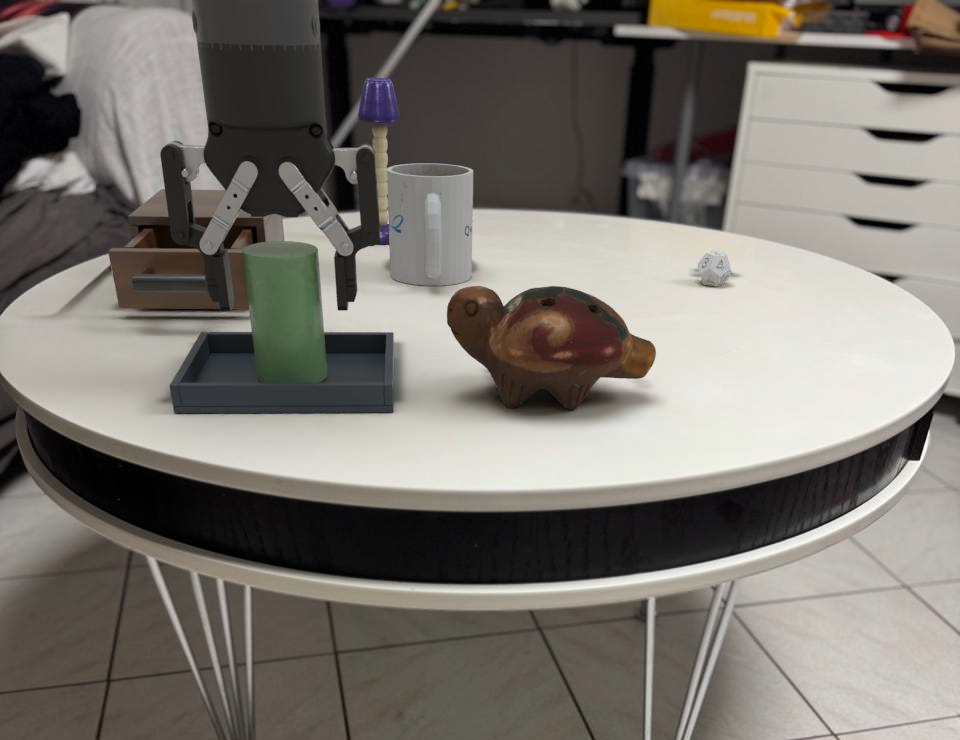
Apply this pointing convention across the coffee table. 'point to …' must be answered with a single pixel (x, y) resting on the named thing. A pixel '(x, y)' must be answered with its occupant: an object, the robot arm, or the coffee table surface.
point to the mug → (430, 223)
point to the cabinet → (203, 215)
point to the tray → (236, 389)
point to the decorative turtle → (546, 341)
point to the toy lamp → (380, 136)
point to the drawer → (174, 271)
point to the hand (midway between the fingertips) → (285, 307)
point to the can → (285, 311)
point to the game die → (714, 268)
